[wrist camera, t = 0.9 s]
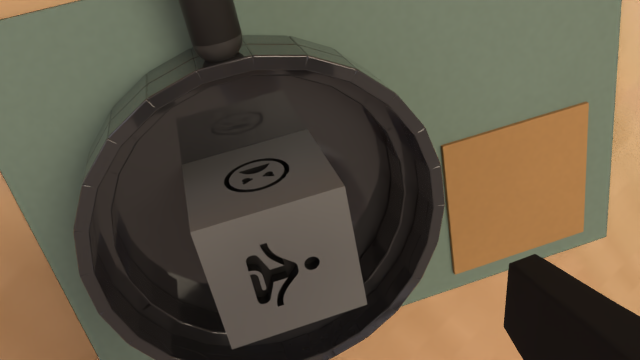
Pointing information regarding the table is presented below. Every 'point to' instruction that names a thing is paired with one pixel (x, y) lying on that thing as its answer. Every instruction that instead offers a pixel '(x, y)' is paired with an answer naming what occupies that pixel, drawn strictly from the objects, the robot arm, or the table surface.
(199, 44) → the pan handle
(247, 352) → the frying pan
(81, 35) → the desk mat
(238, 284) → the dice cube
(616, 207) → the table surface
